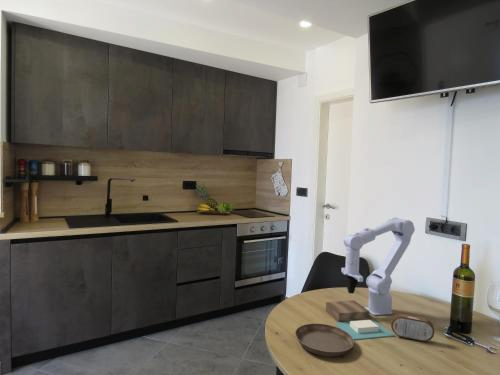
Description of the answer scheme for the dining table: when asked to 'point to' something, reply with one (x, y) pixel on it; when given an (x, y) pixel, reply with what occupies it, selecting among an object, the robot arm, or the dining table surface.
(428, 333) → the tin
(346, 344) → the plant saucer
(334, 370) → the dining table surface
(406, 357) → the dining table surface
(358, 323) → the tile
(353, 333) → the mat
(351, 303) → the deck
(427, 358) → the dining table surface
